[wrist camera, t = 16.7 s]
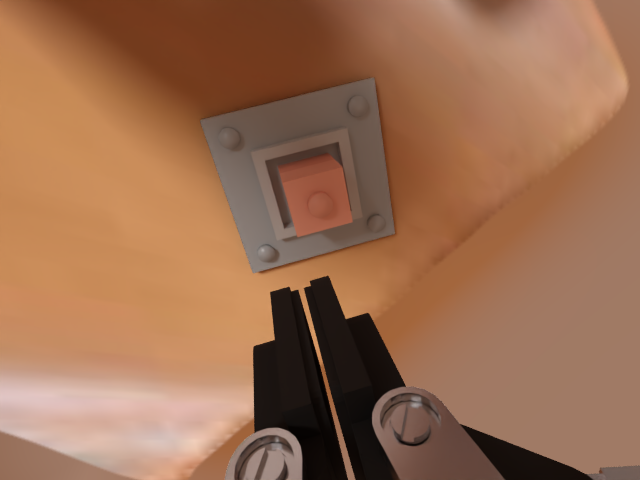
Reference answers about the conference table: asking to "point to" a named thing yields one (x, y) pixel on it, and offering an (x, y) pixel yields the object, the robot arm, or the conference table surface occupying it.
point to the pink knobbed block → (315, 193)
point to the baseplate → (296, 144)
